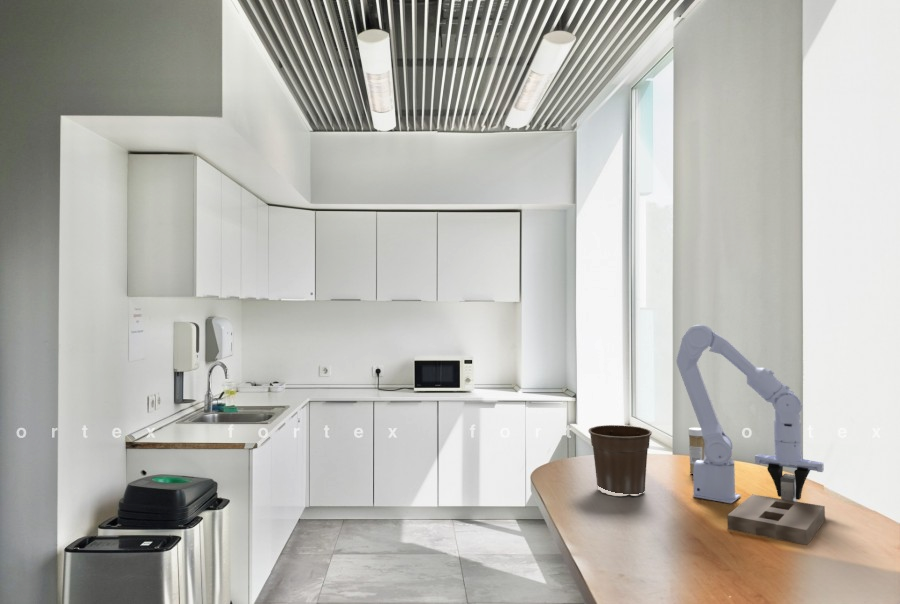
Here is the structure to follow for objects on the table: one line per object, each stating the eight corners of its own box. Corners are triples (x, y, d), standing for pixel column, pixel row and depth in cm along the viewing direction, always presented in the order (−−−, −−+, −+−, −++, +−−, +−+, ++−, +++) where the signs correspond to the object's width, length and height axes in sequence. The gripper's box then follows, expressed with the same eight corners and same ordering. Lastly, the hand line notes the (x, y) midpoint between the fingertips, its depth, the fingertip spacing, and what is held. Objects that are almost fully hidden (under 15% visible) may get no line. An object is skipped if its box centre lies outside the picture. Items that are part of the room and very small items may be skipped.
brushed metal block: (781, 506, 147) (780, 477, 147) (785, 502, 150) (784, 473, 150) (793, 508, 145) (792, 478, 145) (797, 504, 148) (796, 475, 148)
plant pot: (643, 504, 150) (642, 438, 150) (580, 494, 158) (579, 432, 159) (659, 488, 163) (658, 428, 164) (600, 480, 172) (599, 423, 172)
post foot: (727, 529, 131) (727, 515, 131) (752, 506, 146) (752, 494, 146) (806, 545, 121) (806, 530, 121) (825, 519, 137) (824, 506, 137)
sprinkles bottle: (709, 475, 176) (708, 428, 177) (700, 477, 174) (699, 430, 174) (695, 472, 180) (694, 426, 181) (686, 474, 178) (685, 428, 178)
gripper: (751, 439, 150) (752, 495, 149) (818, 447, 140) (820, 506, 140) (758, 435, 155) (760, 489, 154) (824, 442, 145) (826, 499, 145)
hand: (789, 497), depth 147 cm, fingers open, 3 cm apart
